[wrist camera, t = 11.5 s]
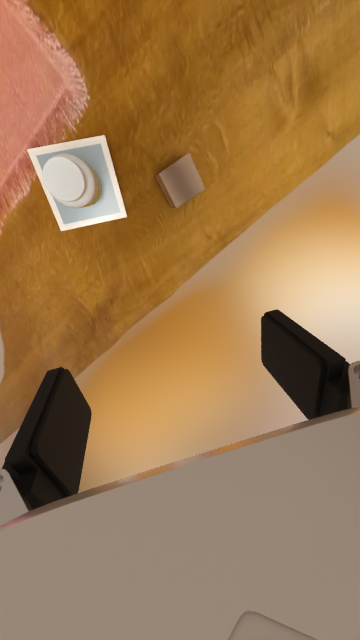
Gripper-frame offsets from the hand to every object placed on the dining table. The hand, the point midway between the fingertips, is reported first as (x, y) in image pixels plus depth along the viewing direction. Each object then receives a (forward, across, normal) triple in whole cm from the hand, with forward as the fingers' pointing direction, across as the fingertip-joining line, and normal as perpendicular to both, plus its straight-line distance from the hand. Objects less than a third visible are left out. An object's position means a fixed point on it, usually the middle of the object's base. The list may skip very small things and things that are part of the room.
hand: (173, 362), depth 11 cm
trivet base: (+33, +6, -10) cm, 35 cm away
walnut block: (+34, -8, -8) cm, 35 cm away
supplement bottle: (+30, +6, -10) cm, 33 cm away
